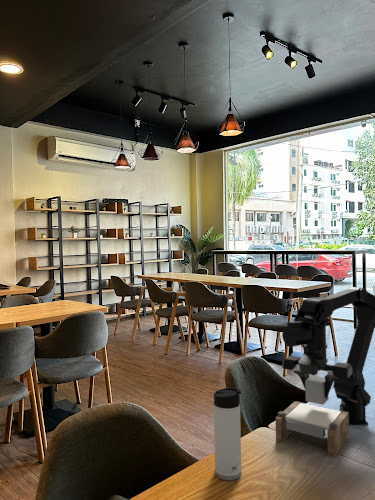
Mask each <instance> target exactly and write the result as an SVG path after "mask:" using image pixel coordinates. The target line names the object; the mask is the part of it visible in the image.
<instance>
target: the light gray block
mask: <svg viewBox="0 0 375 500" xmlns="http://www.w3.org/2000/svg"><path fill="white" fill-rule="evenodd" d="M304 391H305V402H306V403H307V402H308V403H313V404H317V405H322V406H323V405H325V403H327V402H328V401H329V396H328V397H327V398H325V377H320V376H316V375H309V378H308V379H306V380H305V388H304Z"/></svg>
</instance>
